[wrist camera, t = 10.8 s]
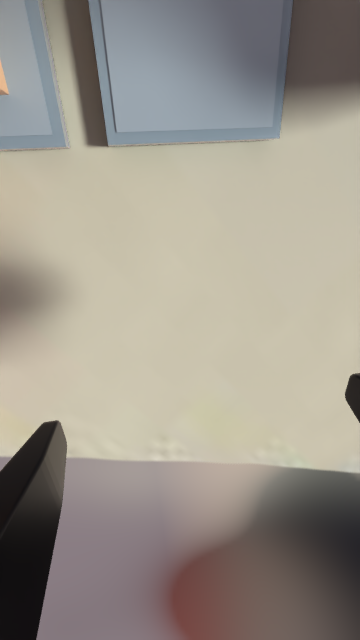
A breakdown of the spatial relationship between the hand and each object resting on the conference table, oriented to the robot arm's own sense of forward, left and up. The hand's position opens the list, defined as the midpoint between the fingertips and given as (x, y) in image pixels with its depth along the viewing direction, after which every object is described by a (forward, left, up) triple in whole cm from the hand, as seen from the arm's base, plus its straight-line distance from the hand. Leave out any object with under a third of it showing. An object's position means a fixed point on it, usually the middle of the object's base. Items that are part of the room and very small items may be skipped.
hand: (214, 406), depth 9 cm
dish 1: (-2, -12, -12) cm, 17 cm away
